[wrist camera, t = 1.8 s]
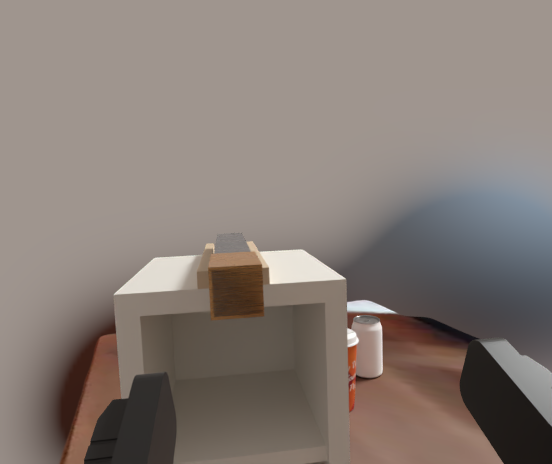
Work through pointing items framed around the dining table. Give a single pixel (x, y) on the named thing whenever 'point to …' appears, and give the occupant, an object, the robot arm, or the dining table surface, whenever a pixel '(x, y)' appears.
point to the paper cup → (351, 365)
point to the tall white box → (243, 360)
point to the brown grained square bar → (235, 279)
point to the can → (368, 346)
